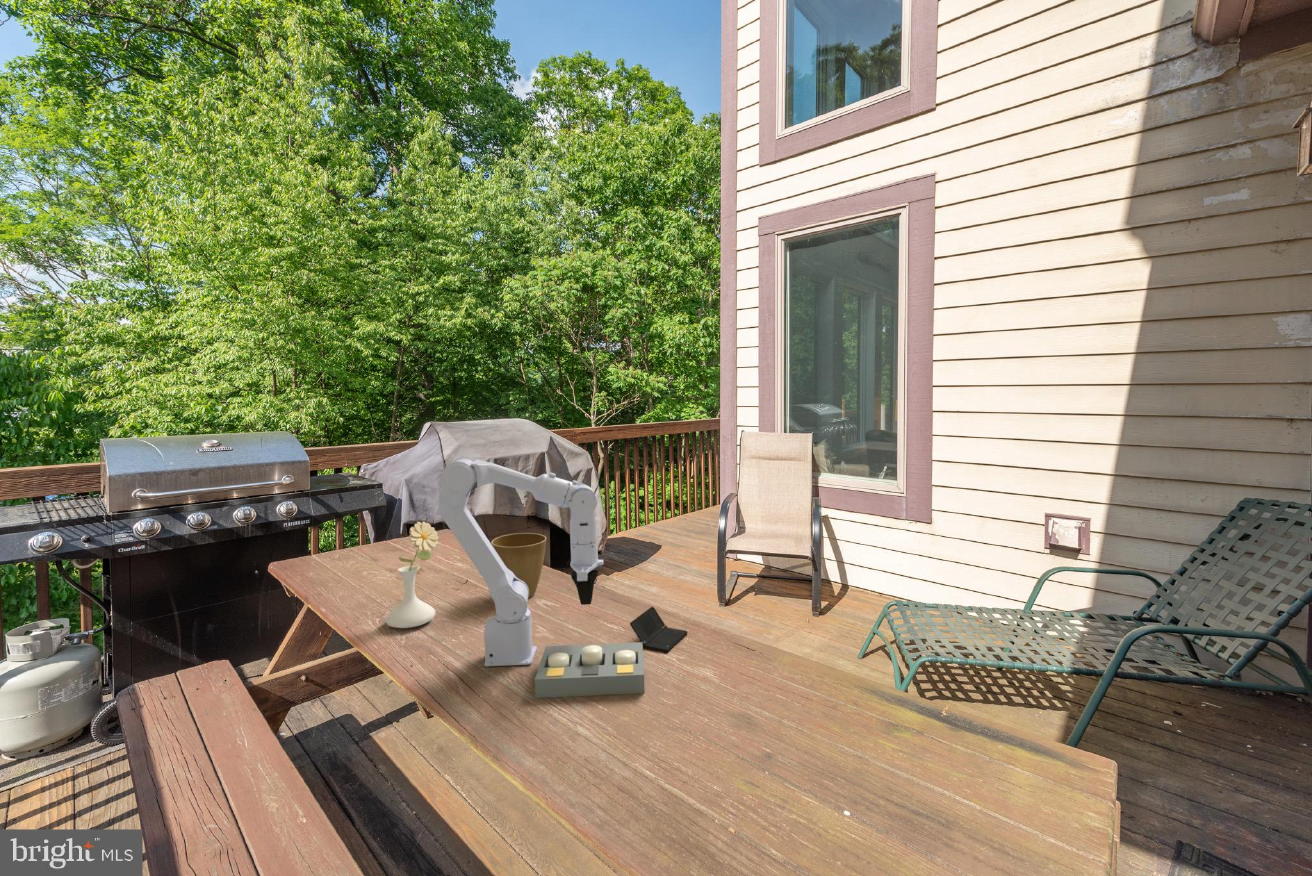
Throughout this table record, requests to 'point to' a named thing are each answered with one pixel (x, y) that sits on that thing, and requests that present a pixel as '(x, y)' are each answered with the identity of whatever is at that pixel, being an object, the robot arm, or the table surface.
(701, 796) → the table surface
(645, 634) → the handheld gaming console
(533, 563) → the plant pot
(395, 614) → the flower in vase
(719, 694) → the table surface
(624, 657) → the button right
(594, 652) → the button middle
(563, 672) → the button board
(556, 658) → the button left
